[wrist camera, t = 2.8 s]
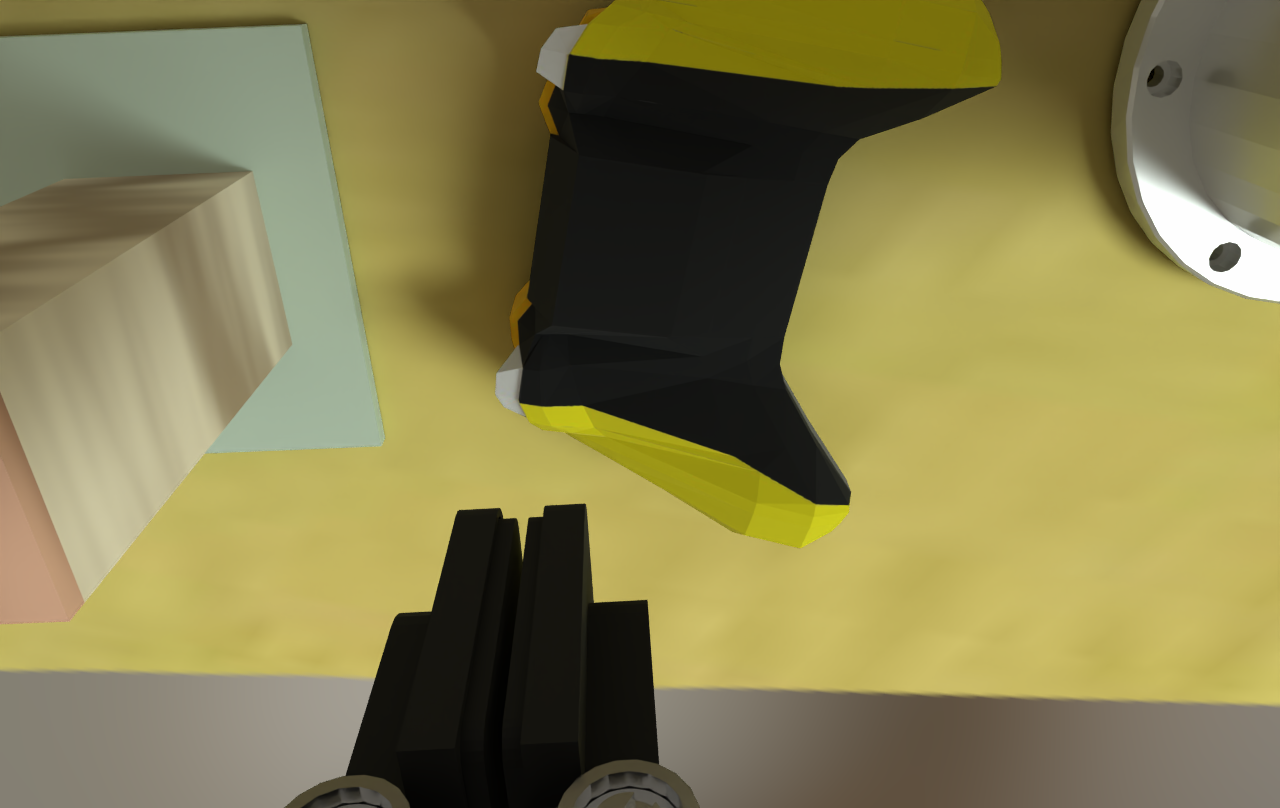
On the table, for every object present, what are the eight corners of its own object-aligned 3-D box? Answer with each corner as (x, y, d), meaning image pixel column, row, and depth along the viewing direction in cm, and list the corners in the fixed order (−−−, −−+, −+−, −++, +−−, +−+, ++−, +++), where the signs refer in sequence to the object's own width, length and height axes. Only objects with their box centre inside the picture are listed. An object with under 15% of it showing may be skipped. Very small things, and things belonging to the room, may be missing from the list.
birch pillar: (252, 171, 24) (-40, 357, 13) (292, 344, 26) (69, 621, 16) (63, 178, 24) (-380, 371, 13) (120, 351, 26) (-220, 633, 16)
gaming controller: (962, -25, 23) (569, -111, 22) (1056, -15, 18) (555, -125, 17) (803, 475, 30) (496, 428, 28) (840, 582, 25) (471, 530, 24)
